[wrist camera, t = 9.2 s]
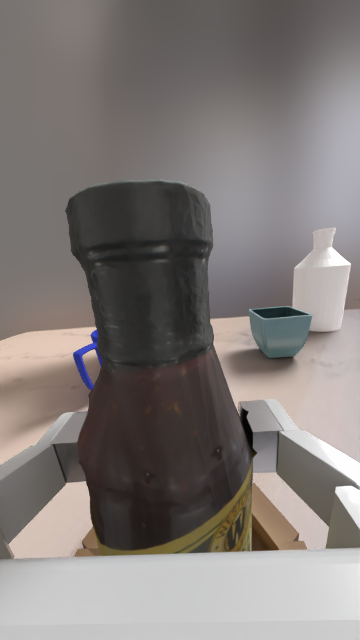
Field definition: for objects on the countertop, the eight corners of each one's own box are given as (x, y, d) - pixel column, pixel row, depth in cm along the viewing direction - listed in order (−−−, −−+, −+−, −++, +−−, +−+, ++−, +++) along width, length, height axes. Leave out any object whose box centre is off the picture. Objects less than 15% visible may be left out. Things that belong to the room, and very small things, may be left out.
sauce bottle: (184, 854, 6) (-259, -110, 1) (113, 602, 11) (-19, 225, 6) (278, 613, 10) (298, 177, 5) (195, 507, 15) (161, 232, 10)
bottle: (290, 318, 61) (295, 236, 55) (337, 320, 55) (349, 228, 49) (290, 330, 51) (296, 231, 45) (347, 333, 46) (363, 220, 39)
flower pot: (247, 346, 44) (247, 308, 42) (286, 343, 44) (288, 305, 41) (261, 364, 36) (262, 319, 33) (310, 361, 35) (314, 314, 33)
